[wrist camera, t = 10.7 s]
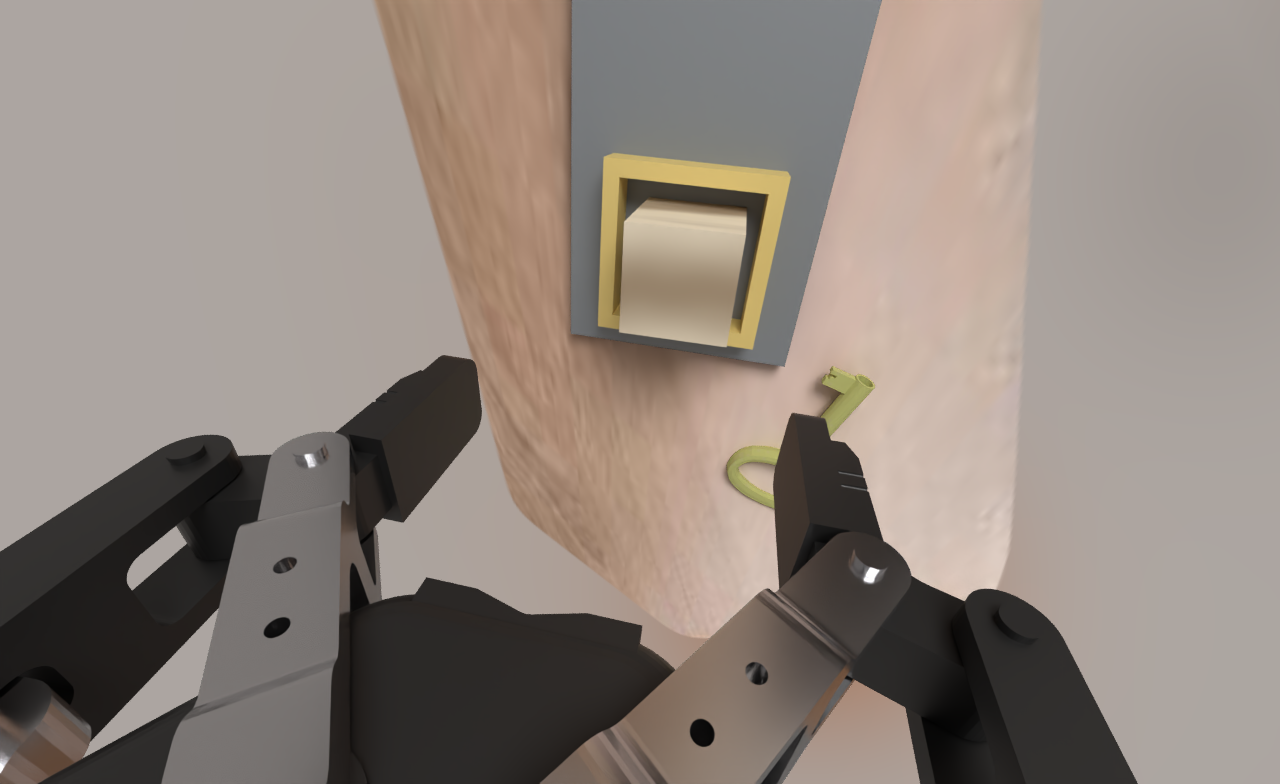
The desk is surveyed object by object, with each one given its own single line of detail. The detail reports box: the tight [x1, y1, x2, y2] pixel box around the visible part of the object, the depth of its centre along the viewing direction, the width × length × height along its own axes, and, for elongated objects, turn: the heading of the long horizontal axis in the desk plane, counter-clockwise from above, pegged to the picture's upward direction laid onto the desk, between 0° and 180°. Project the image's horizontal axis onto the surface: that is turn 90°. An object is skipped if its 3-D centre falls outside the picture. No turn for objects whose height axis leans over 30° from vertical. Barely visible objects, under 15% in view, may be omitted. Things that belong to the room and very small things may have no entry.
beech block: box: [619, 197, 747, 347], centre depth 24 cm, size 5×5×6 cm
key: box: [727, 366, 875, 508], centre depth 32 cm, size 7×12×2 cm, turn 176°
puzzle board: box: [571, 0, 882, 367], centre depth 23 cm, size 22×13×3 cm, turn 175°
